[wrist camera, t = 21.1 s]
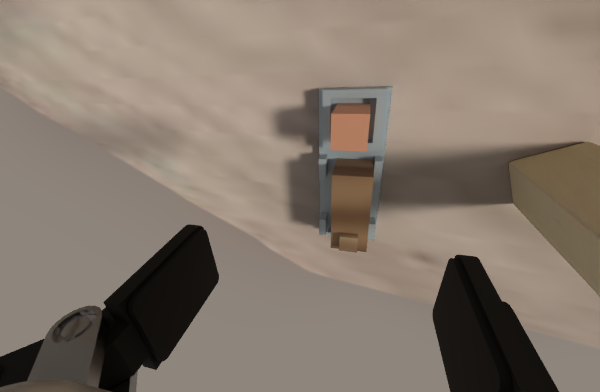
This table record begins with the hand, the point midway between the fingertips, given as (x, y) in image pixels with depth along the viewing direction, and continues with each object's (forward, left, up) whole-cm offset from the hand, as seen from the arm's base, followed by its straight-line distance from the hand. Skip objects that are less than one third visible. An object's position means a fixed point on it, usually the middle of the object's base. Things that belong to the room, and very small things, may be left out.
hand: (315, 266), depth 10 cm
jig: (+8, 0, -28) cm, 29 cm away
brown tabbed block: (+11, +1, -27) cm, 29 cm away
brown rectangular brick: (0, 0, -27) cm, 27 cm away
